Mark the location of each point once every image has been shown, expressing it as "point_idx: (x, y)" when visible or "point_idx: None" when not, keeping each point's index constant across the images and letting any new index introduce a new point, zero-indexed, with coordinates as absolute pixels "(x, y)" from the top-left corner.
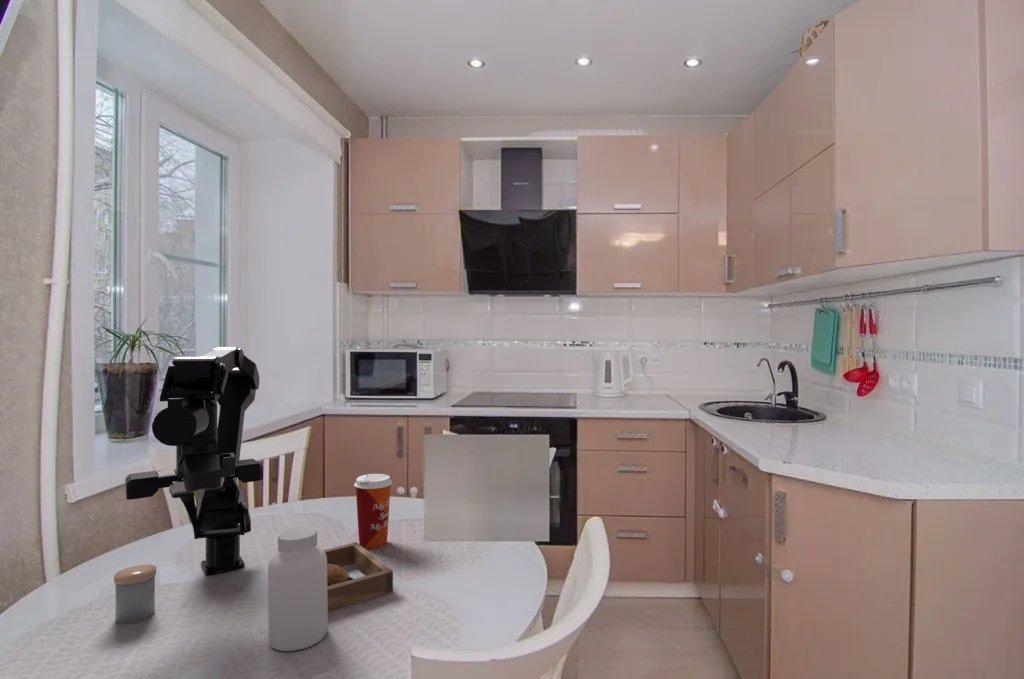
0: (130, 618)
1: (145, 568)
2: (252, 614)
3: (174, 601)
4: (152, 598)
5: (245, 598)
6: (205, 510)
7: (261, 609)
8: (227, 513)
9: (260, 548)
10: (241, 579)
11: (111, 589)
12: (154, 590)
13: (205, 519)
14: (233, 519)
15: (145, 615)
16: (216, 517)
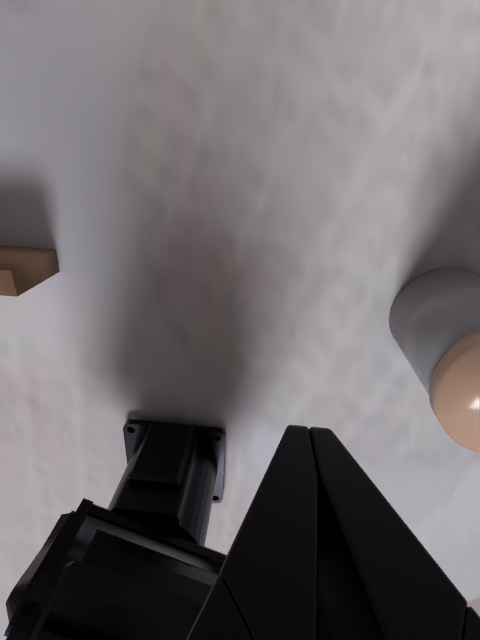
0: (477, 276)
1: (477, 405)
2: (148, 47)
3: (331, 332)
4: (422, 308)
5: (152, 207)
6: (245, 583)
7: (115, 69)
8: (94, 608)
9: (78, 495)
10: (145, 350)
11: (427, 494)
12: (418, 330)
13: (196, 615)
14: (82, 562)
15: (432, 275)
16: (149, 605)
